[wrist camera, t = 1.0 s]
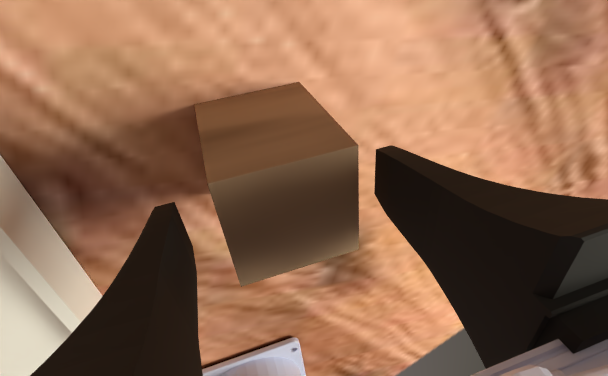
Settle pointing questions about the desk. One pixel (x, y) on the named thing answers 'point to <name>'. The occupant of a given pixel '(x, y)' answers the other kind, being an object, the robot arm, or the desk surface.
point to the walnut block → (279, 180)
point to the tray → (35, 283)
